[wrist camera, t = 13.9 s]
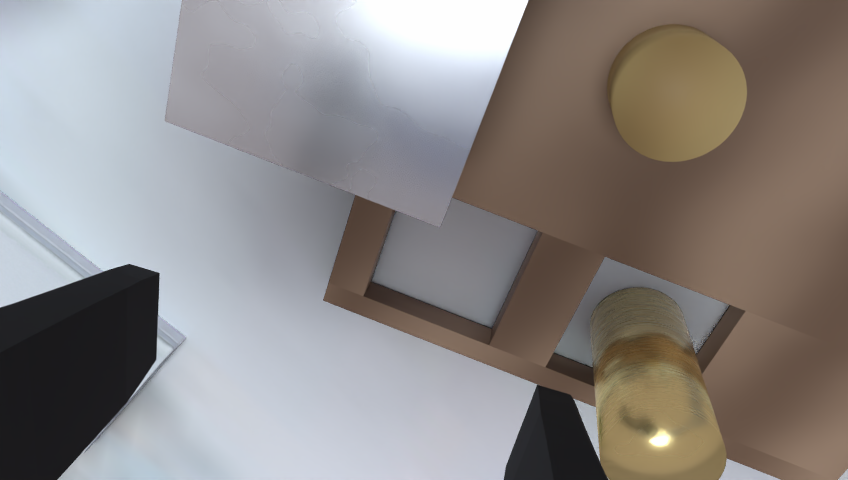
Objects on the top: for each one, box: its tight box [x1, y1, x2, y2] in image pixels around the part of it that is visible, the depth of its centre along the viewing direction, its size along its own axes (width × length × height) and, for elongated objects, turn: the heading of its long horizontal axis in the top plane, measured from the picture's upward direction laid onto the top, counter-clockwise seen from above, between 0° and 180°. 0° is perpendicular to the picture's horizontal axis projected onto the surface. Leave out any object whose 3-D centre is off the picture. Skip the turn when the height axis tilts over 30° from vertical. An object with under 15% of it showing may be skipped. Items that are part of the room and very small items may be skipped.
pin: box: [590, 288, 727, 480], centre depth 19 cm, size 3×3×6 cm
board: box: [323, 0, 848, 480], centre depth 18 cm, size 23×15×3 cm, turn 71°
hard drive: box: [0, 191, 186, 453], centre depth 26 cm, size 2×8×12 cm
